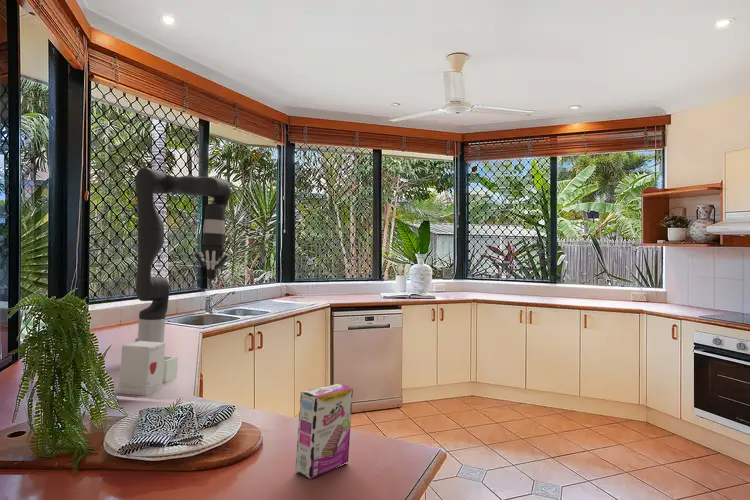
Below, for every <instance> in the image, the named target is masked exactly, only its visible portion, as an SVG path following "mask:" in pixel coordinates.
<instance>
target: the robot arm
mask: <svg viewBox="0 0 750 500" xmlns="http://www.w3.org/2000/svg"><path fill="white" fill-rule="evenodd" d="M134 180H135V181H134V182H135V193H136V201H137V203H136V204H137V267H136V278H135V279H136V280H135V295H136V297H137V299H138V300H139V301H140V302H151V304H150V305H149V306H147V307H146V308H144V309H142V310H140V311H139V313H138V330H137V338H135V339H134V342H138V341H148V342H162V343H165V331H166V330H165V328H166V327H165V326H166V315H167V312H168V307H169V299H170V282H169V281H168V279H167V278H166V277H164V276H152V266H153V263H154V261H155V259H156V257H157V256H158V255H159V253H160V251H161V250H162V248H163V245H164V243H165V225H164V223H163V220H162V218H161V216H160V215H159V213H158V211H157V208H156V206H155V202H154V195H160V194H161V195H163V194H170V193H173V194H174V193H176V194H177V193H178V194H185V195H190V196H205V197H210V198H213V200H212V203H207V204H206V205H205V209H204V220H203V225H202V226H203V228H202V247H201V249H200V251H199V252H198V253H195V254H194V256H195V258H196V259H197V260H198V262H199V264H200V265H201V266H202V268H205V269H207V272H206V278H207V279H208V281H209V280H210V281H215V279H216V278H217V270H219V269H221V268H223V266H224V265H225V264H226V263H227V262H228V260H229V259H230V258H231V255H230V254H227V252H226V251H225V235H226V233H225V231H226V222H225V220H226V208H227V207H228V203H229V200H230V197H231V190H232V189H231V186H230V183H229V182H228V181H227V180H224V179H220V178H217V177H213V176H192V175H183V176H182V175H181V176H175V175H171V174H167V173H165V172H162V171H160V170H157V169H153V168H148V167H141V168H139V170H138V171H137V172H136V175H135V179H134Z"/></svg>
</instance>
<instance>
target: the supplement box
mask: <svg viewBox="0 0 750 500" xmlns="http://www.w3.org/2000/svg"><path fill="white" fill-rule="evenodd" d="M165 346H166V342H164V343H162V342H148V341H138V342H135V341H134V342H130V343H127V344H123V345H122V346H121V347H122V348H121V357H120V371H119V385H118V394H127V395H138V396H148V395H150V394H151V393H154V392H156V391H159V390H160V389H162V388H163V383H162V381H163V366H164V356H165V348H166V347H165ZM145 398H146V397H144V399H145Z"/></svg>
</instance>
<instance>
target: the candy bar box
mask: <svg viewBox="0 0 750 500" xmlns="http://www.w3.org/2000/svg"><path fill="white" fill-rule="evenodd" d="M353 391H354V387H351V386H348V385H345V384H341V383H336V384H329V385H326V386H322V387H317V388H312V389H308V390H303V391H301V392H300V399H299V400H300V401H299V417H298V427H297V428H298V431H297V442H296V443H297V444H296V459H295V460H296V461H295V473H296V472H297V474H298V473H299V475H300V474H301V476H302V475H303V476H302V477H304V476H306V477H308V478H310V479H309V480H313V479H315V478H317V477H316V476H318V477H320V476H322V475H324V474H323V473H325V474H327V473H329V472H331V471H330V470H332V469H334V468H336V467H338V466H340V465H342V464H344V463H346V462H348V463H349V452H350V441H351V440H350V438H351V437H350V435H351V423H352V421H351V420H352V409H353V408H352V407H353ZM336 469H337V468H336ZM334 470H335V469H334ZM328 471H329V472H328ZM332 471H333V470H332ZM326 472H327V473H326ZM321 474H322V475H321ZM319 475H320V476H319ZM306 477H305V478H306ZM314 477H315V478H314ZM308 478H307V479H308ZM312 478H313V479H312Z"/></svg>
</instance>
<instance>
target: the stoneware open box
mask: <svg viewBox="0 0 750 500" xmlns="http://www.w3.org/2000/svg"><path fill="white" fill-rule="evenodd" d="M178 359H179V357H178V356H174V355H173V356H172V355H164V366H163V381H162V384H163V383H166V384H167V383H169V382H171V381H172V380H174V379H177V376H178V375H177V373H178Z"/></svg>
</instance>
